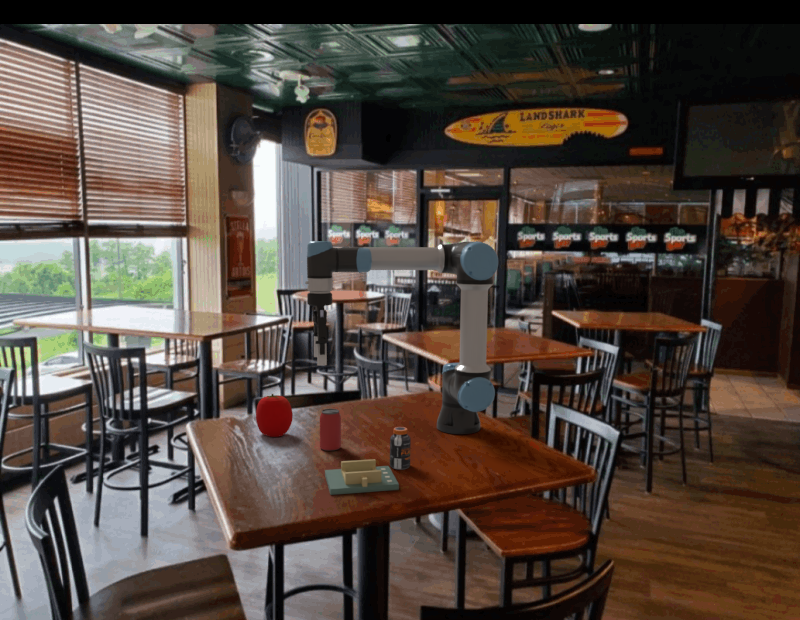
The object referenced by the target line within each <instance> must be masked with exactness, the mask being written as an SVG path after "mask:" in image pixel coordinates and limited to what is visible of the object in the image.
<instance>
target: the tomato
mask: <svg viewBox="0 0 800 620" xmlns="http://www.w3.org/2000/svg"><path fill="white" fill-rule="evenodd" d="M293 413H294V412H293V409H292V406H291V403H290V401H289V400H288V399H287V398H286V397H285V396H283V395H277V394H276V395H275V394H274V393H271V395H263V397H262V398H261V399H260V400H259V401H258V403H257V405H256V411H255V421H256V425H257V428H258V431H259V432H260V433H261V434H262V435H264V436H265V437H270V438H279V437H282V436H284V435H285V434H287V432H288V431H289V430H290V429H291V428H290V427H291V425H292V423H293V418H294V417H293V416H294V415H293Z"/></svg>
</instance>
